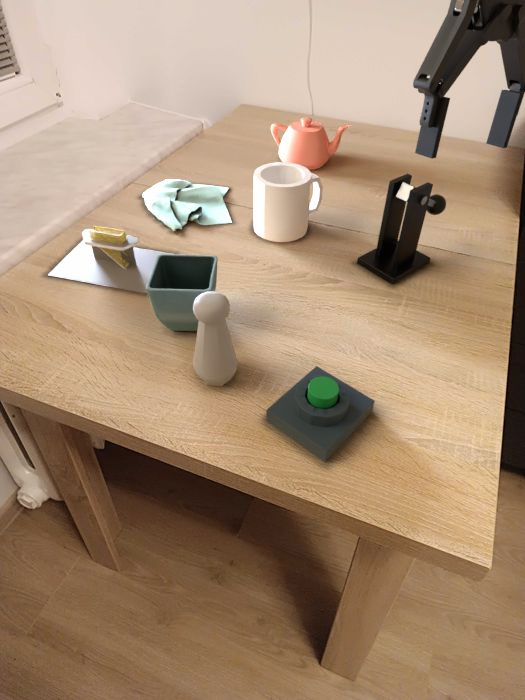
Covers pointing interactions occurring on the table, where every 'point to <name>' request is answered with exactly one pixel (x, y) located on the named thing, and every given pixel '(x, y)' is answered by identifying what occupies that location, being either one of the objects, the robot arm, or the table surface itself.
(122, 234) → the platform
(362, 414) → the control block
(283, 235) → the mug
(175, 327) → the flower pot
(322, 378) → the button
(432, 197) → the lever
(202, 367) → the salt shaker
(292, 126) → the teapot
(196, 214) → the cloth
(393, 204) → the switch bracket
